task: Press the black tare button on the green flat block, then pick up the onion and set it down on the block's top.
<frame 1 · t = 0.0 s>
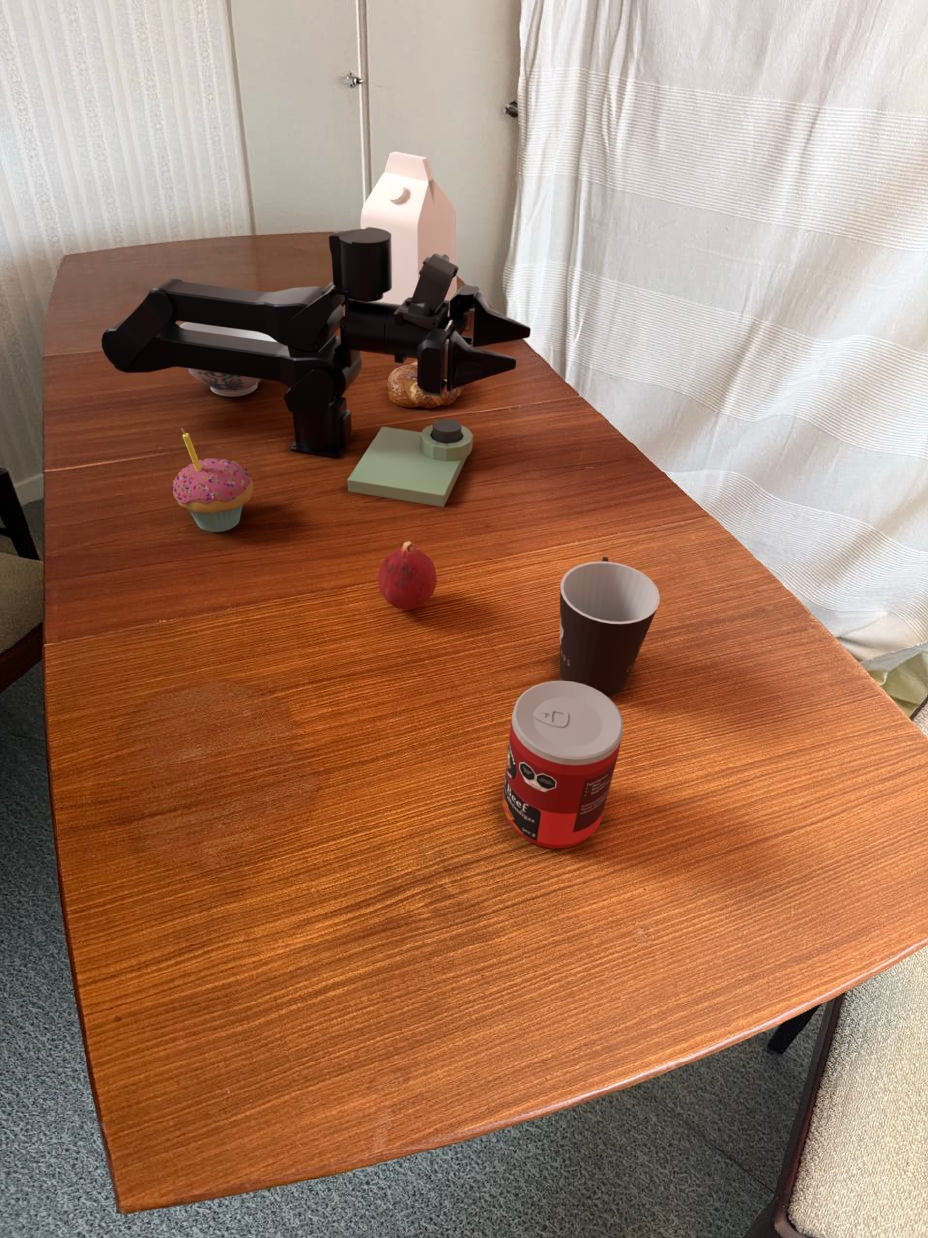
hand: (523, 347, 94), 17 cm above the table, tool horizontal, fingers open, 9 cm apart
coffee mug: (599, 665, 80), on the table
chinaware: (234, 387, 121), on the table
green flat block: (411, 470, 105), on the table
cupcake: (219, 521, 95), on the table
twisted bread ring: (424, 396, 121), on the table
canned food: (550, 812, 66), on the table
tare button: (446, 431, 105), point 4 cm above the table, slide at 0.1 cm
milk: (408, 329, 140), on the table
onion: (407, 609, 85), on the table
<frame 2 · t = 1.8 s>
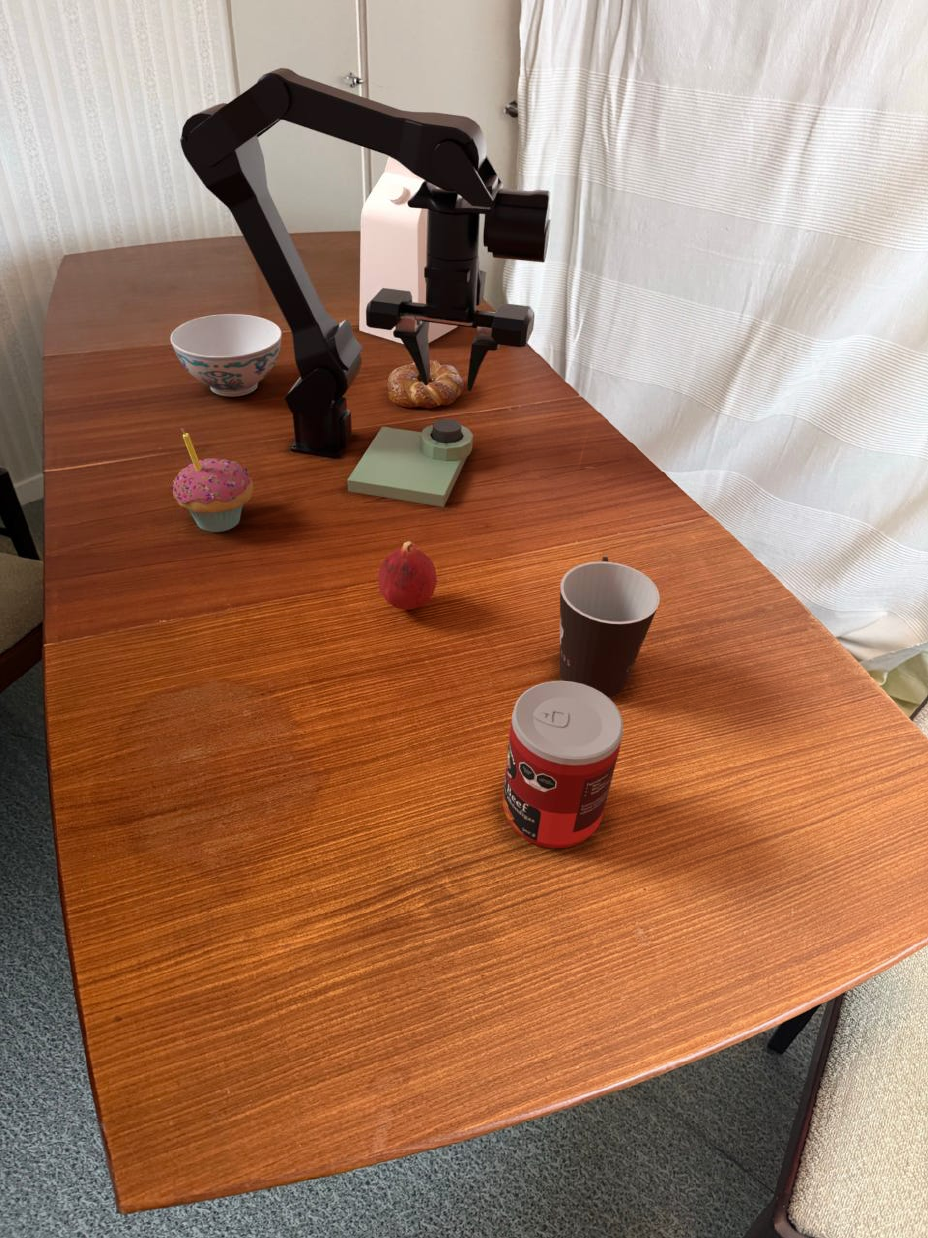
hand: (448, 386, 101), 10 cm above the table, tool pointing down, fingers open, 5 cm apart
nothing on the table moved.
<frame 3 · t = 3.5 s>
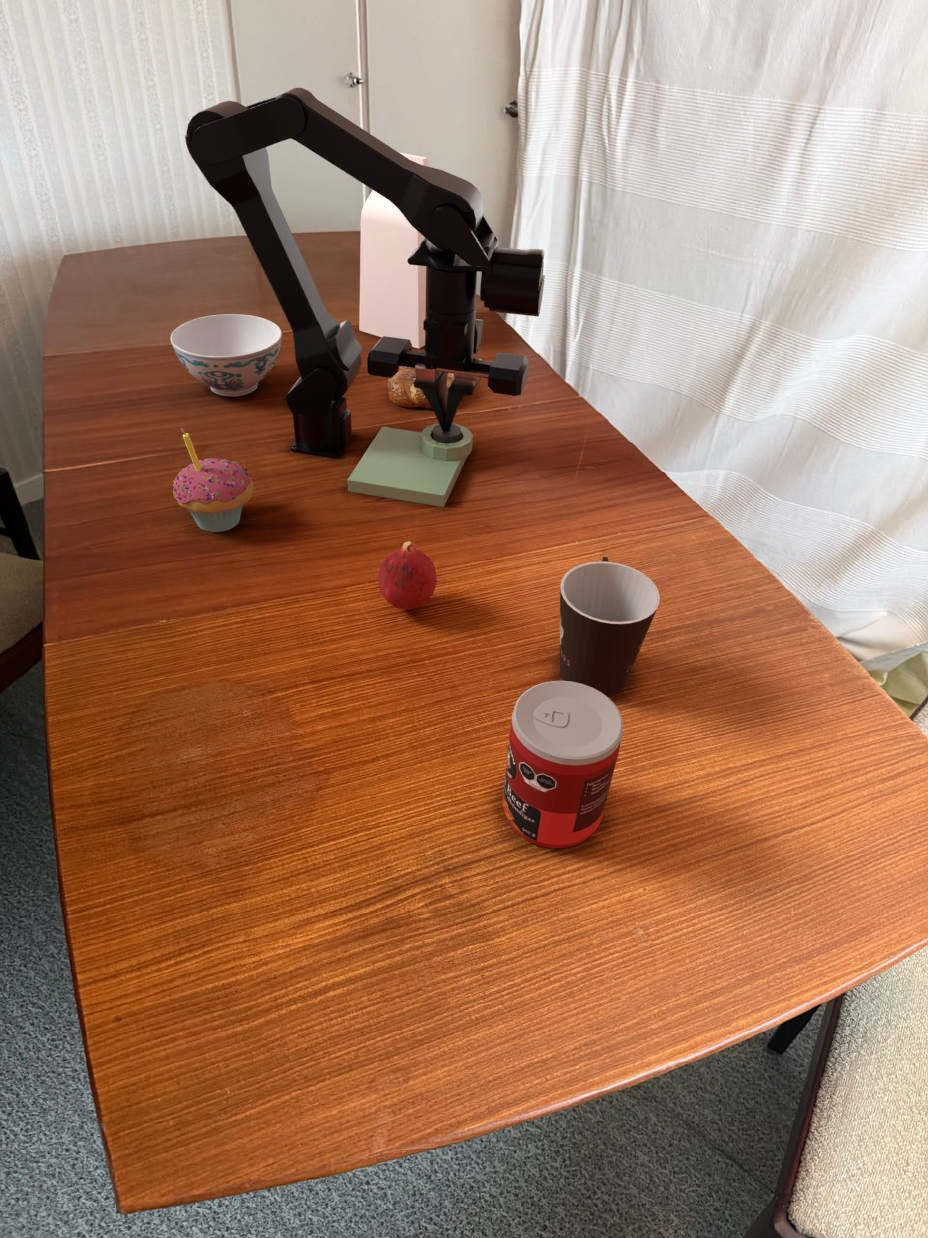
hand: (446, 429, 105), 4 cm above the table, tool pointing down, fingers closed, pressing on tare button
tare button: (446, 436, 105), point 3 cm above the table, slide at -0.5 cm, touching gripper
everything else where it was.
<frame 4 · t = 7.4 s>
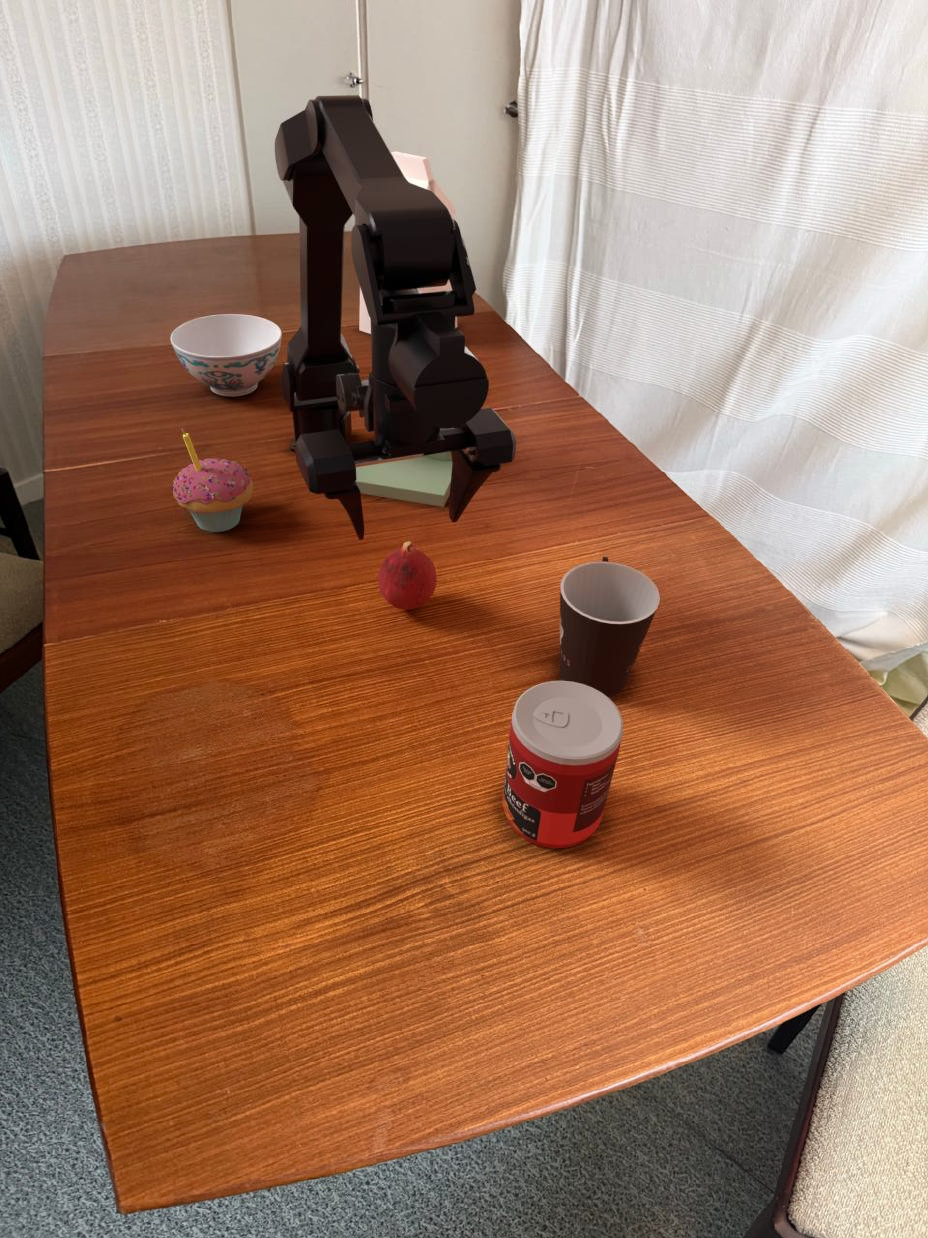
hand: (407, 528, 78), 10 cm above the table, tool pointing down, fingers open, 9 cm apart
tare button: (446, 431, 105), point 4 cm above the table, slide at 0.1 cm
everything else where it was.
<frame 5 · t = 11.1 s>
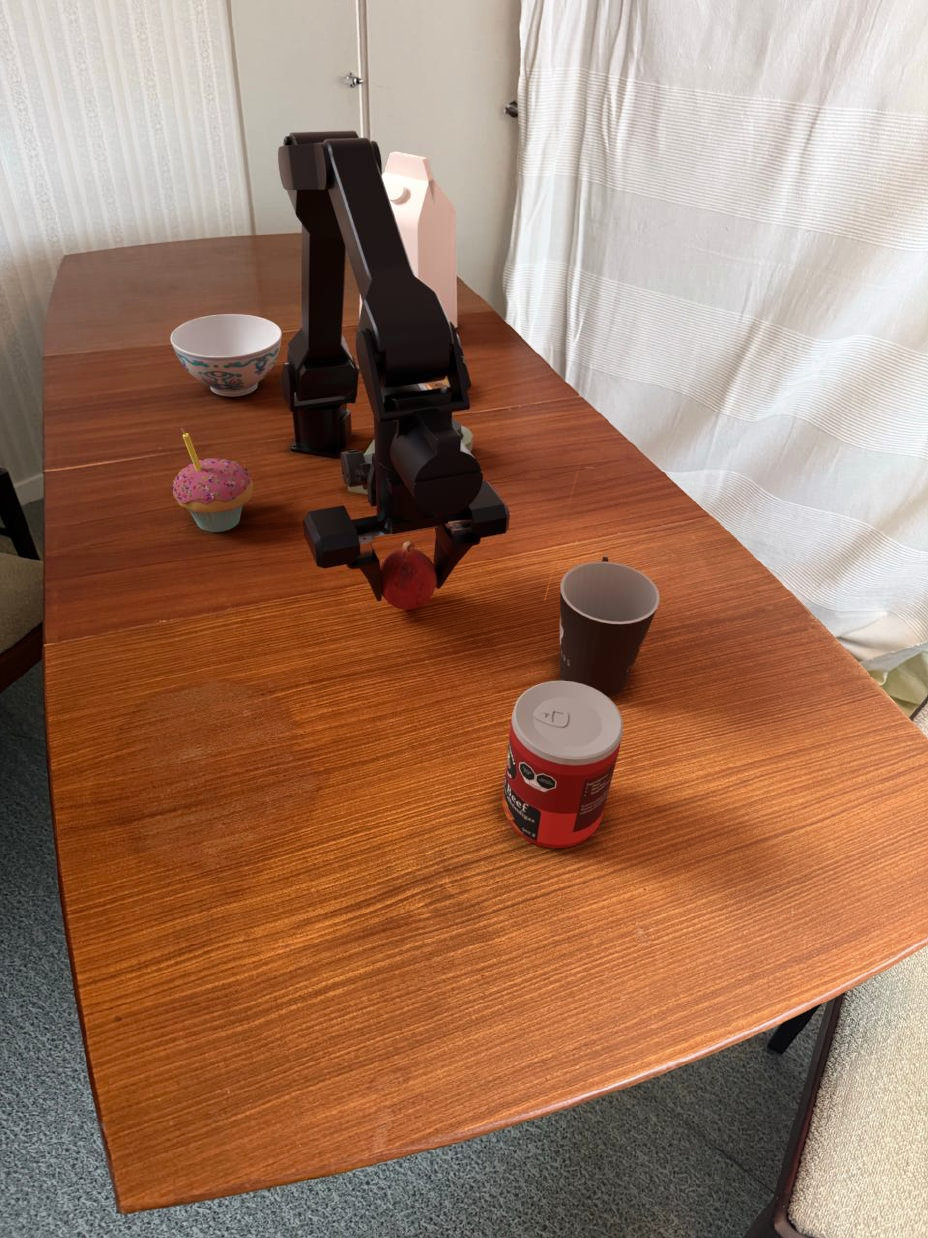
hand: (407, 592, 83), 2 cm above the table, tool pointing down, fingers closed on onion, 6 cm apart
onion: (407, 609, 85), on the table, touching gripper
everything else where it was.
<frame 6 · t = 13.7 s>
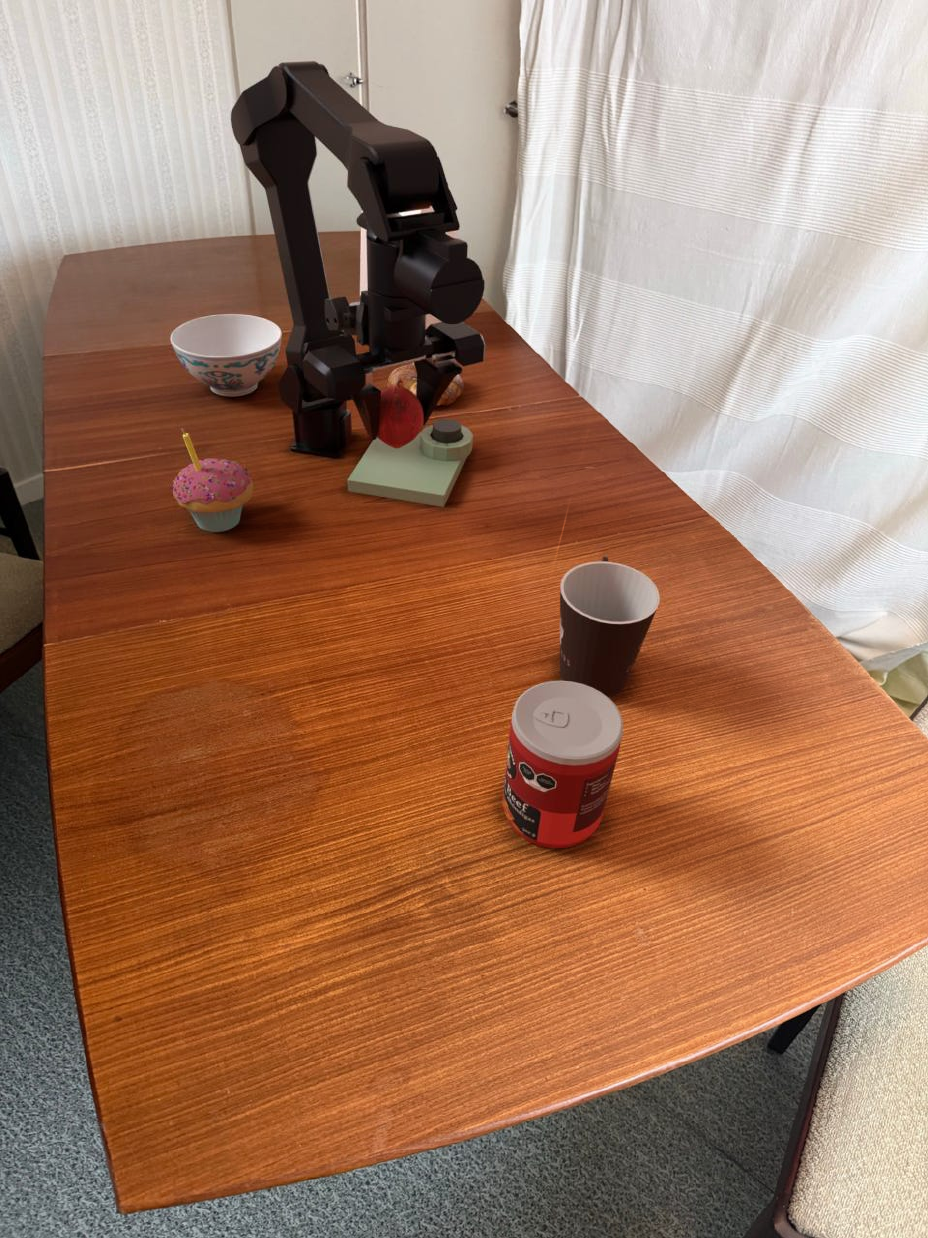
hand: (397, 431, 91), 11 cm above the table, tool pointing down, fingers closed on onion, 6 cm apart
onion: (396, 449, 92), point 8 cm above the table, touching gripper
everything else where it was.
when the fingers open (4 cm above the table, at t = 16.7 s): onion stays where it is, resting on green flat block.
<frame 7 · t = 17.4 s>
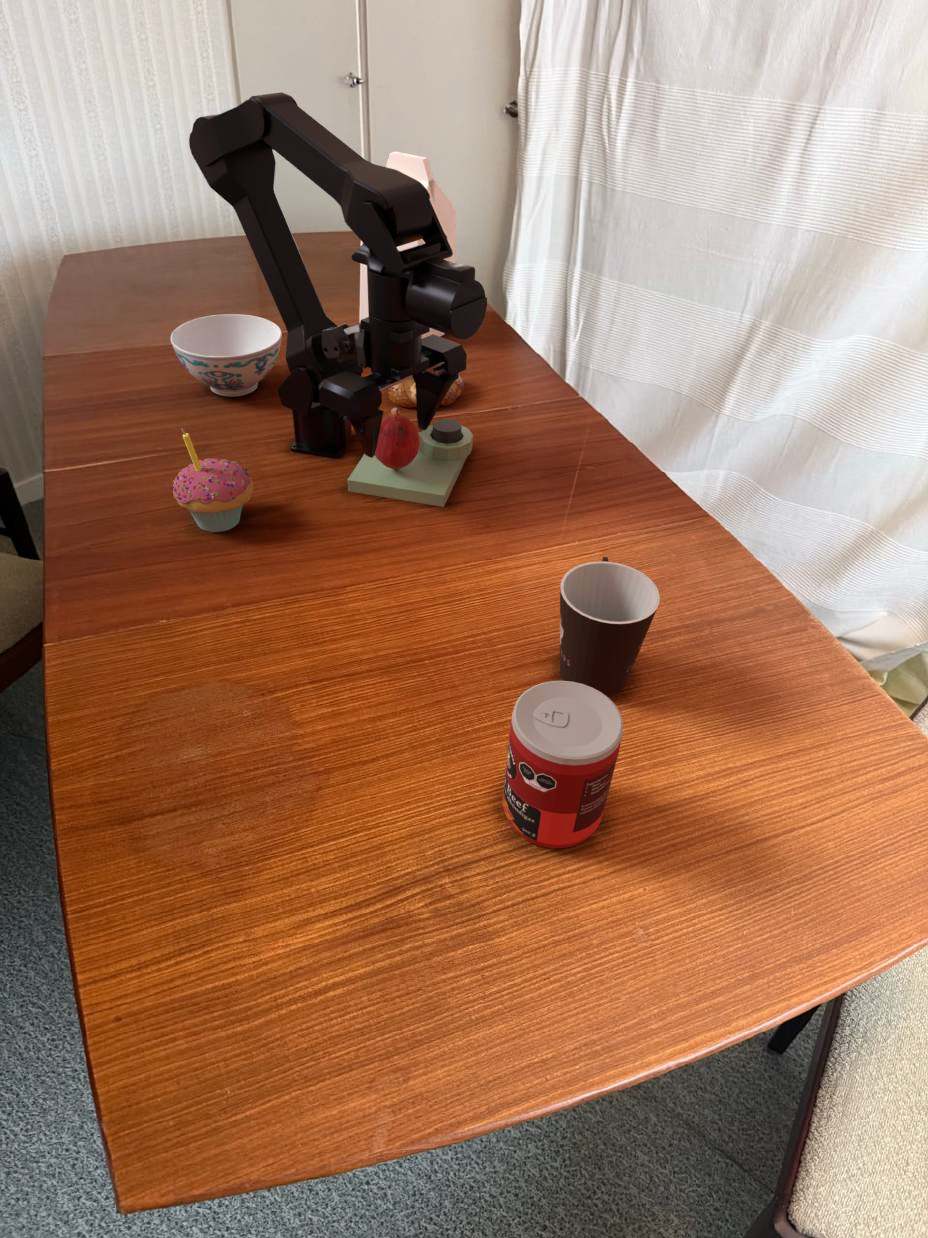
hand: (396, 442, 99), 5 cm above the table, tool pointing down, fingers open, 9 cm apart
onion: (396, 470, 102), point 1 cm above the table, touching green flat block
everything else where it was.
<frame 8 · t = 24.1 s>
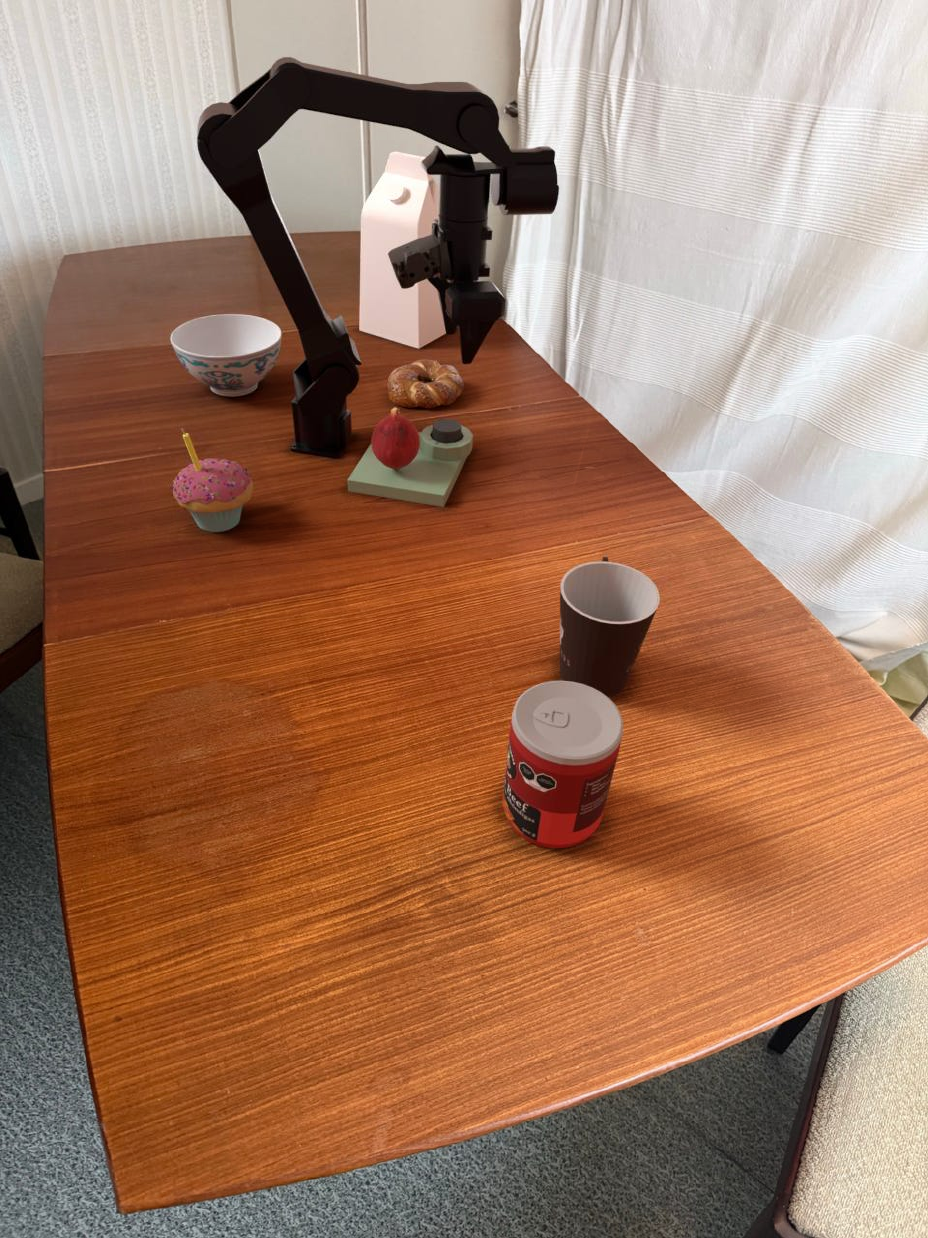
hand: (458, 348, 105), 12 cm above the table, tool pointing down, fingers open, 9 cm apart
nothing on the table moved.
at the end: tare button pushed in 1.2 cm at the most during the clip, back to where it started at the end; onion inside the target area on the green flat block (3.2 cm from its centre), point 1.5 cm above the green flat block's base; onion touching green flat block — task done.
